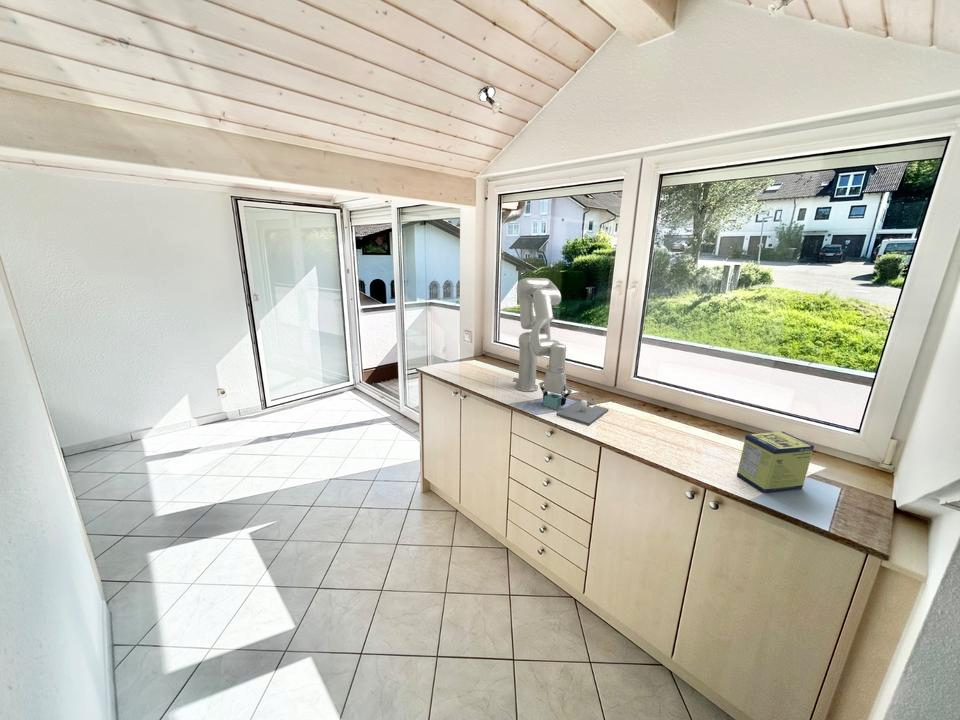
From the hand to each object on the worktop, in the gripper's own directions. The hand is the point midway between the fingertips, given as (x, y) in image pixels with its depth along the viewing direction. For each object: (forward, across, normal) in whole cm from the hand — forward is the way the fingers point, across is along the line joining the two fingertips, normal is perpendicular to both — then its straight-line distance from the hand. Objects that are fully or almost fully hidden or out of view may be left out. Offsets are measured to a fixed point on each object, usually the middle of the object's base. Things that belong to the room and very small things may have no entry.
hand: (553, 402), depth 184 cm
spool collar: (+2, 0, 0) cm, 2 cm away
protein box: (+3, +86, -11) cm, 86 cm away
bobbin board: (+2, +15, +1) cm, 15 cm away
